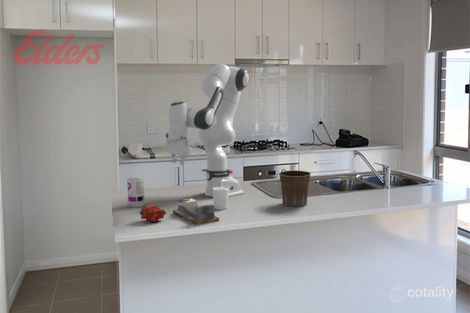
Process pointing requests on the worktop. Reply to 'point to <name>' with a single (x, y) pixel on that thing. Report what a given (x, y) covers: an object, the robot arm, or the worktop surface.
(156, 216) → the dragon fruit
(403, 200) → the worktop surface
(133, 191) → the supplement can
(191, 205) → the cream block with rod
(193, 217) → the base
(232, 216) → the worktop surface
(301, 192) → the plant pot
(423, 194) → the worktop surface
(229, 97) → the robot arm
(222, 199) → the white cup
